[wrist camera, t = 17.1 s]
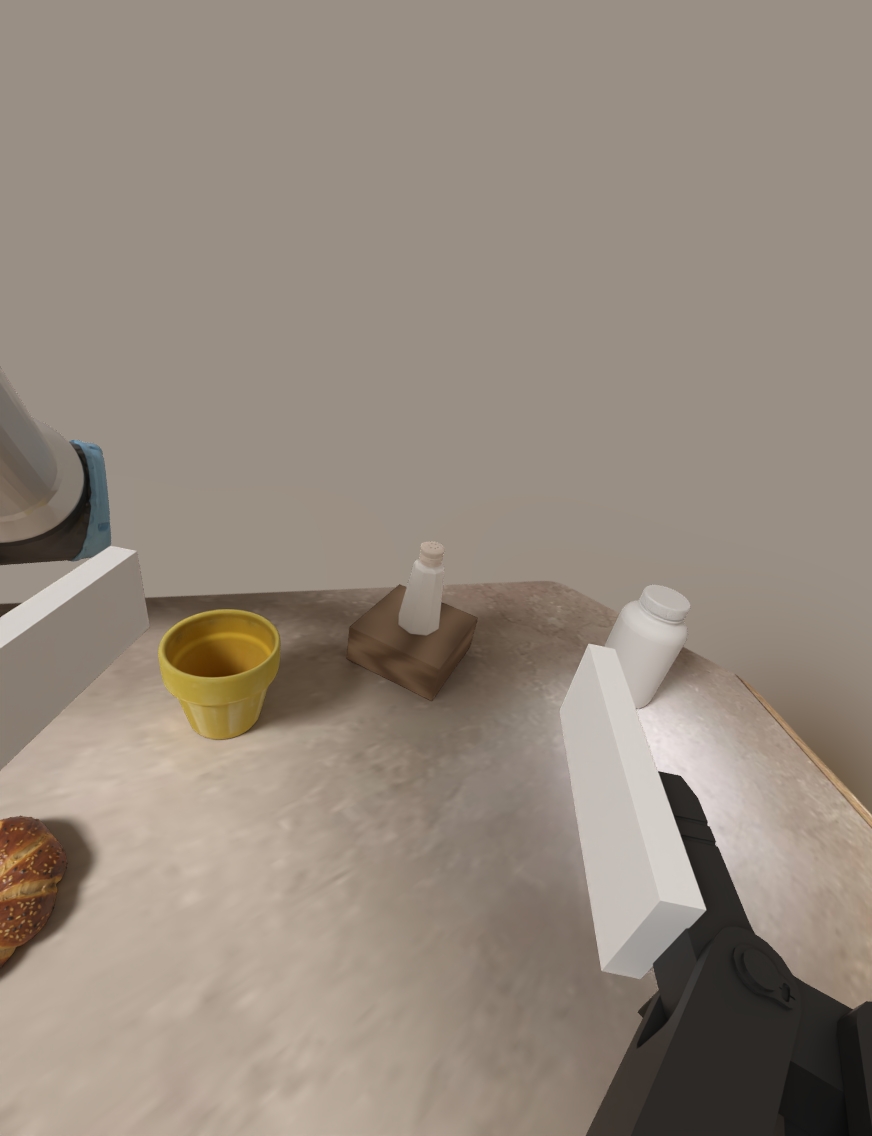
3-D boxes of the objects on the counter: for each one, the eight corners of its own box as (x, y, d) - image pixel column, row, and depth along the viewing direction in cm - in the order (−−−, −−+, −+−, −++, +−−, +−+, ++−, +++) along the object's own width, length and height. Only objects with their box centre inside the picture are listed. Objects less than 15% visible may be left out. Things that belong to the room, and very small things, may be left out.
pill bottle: (639, 721, 58) (693, 626, 51) (580, 685, 62) (622, 591, 55) (658, 690, 64) (709, 600, 56) (603, 658, 68) (644, 570, 60)
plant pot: (262, 667, 55) (261, 598, 50) (293, 732, 48) (296, 660, 43) (161, 694, 50) (149, 620, 45) (180, 773, 43) (168, 695, 38)
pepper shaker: (390, 612, 60) (402, 536, 55) (428, 607, 63) (443, 533, 57) (406, 639, 56) (421, 560, 51) (446, 632, 59) (464, 556, 53)
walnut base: (346, 658, 59) (349, 627, 56) (394, 613, 69) (399, 584, 66) (431, 701, 55) (439, 669, 53) (470, 646, 65) (477, 617, 62)
